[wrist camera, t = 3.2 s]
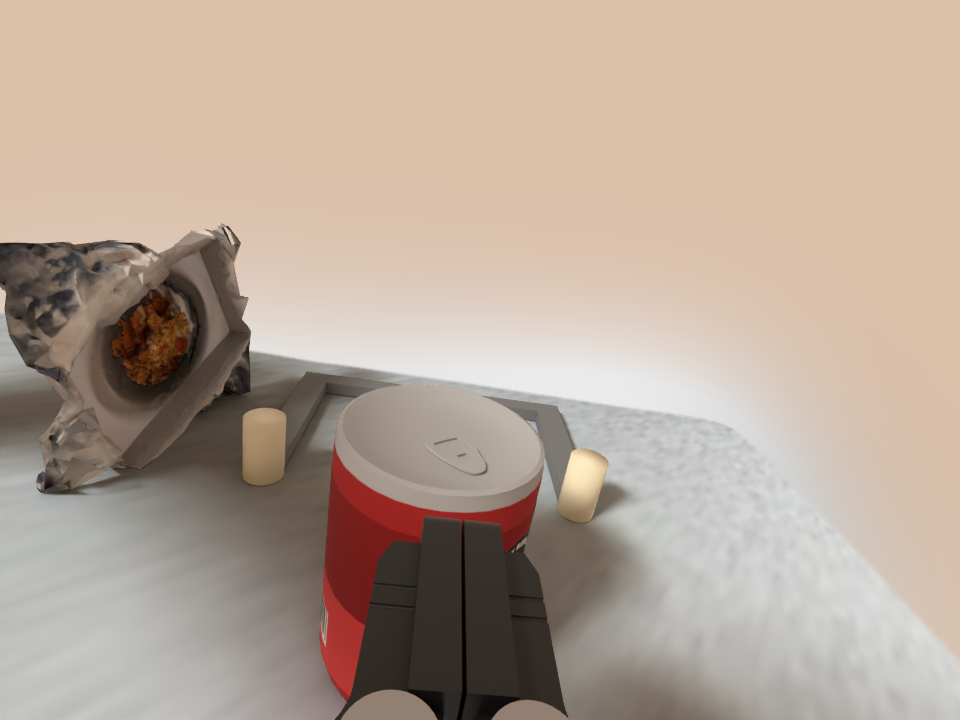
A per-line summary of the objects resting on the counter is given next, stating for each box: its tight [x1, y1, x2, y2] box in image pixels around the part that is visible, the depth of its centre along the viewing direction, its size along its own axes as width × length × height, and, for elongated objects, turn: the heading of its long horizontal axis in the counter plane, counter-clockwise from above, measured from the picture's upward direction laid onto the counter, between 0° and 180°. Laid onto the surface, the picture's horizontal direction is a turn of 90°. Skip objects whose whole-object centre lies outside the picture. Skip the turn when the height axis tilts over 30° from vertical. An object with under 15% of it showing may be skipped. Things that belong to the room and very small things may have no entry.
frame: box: [242, 372, 608, 523], centre depth 38 cm, size 22×15×4 cm, turn 92°
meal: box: [0, 224, 251, 493], centre depth 32 cm, size 15×4×13 cm, turn 169°
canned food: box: [320, 385, 545, 701], centre depth 21 cm, size 8×8×11 cm
